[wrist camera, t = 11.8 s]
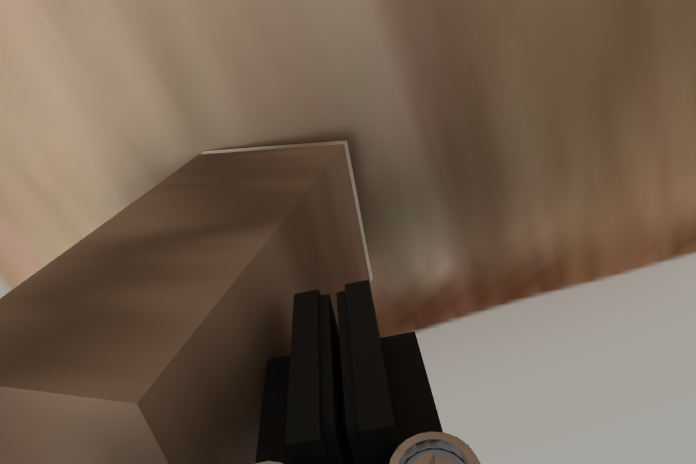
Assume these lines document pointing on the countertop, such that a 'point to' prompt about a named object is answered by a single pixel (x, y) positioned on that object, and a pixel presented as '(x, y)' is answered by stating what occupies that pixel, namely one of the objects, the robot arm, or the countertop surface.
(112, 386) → the walnut block
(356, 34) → the countertop surface
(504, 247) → the countertop surface
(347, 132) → the countertop surface
